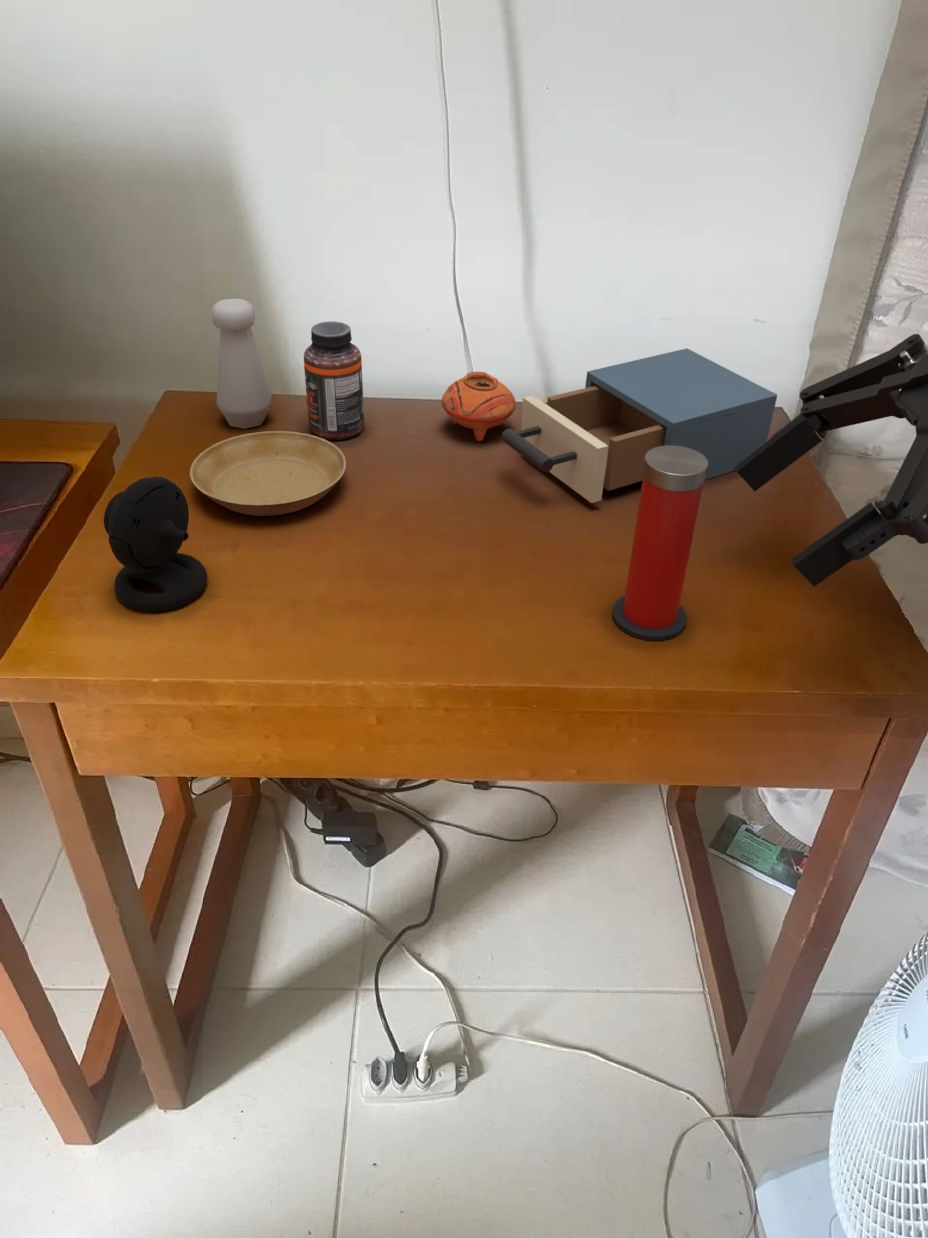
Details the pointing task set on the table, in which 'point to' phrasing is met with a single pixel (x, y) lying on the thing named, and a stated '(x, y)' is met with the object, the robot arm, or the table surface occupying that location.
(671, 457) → the disc
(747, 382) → the cabinet
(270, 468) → the plant saucer
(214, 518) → the table surface
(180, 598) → the webcam
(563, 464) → the drawer
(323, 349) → the supplement bottle
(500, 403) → the pot
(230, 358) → the salt shaker
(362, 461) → the table surface
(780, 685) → the table surface
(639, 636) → the coaster
